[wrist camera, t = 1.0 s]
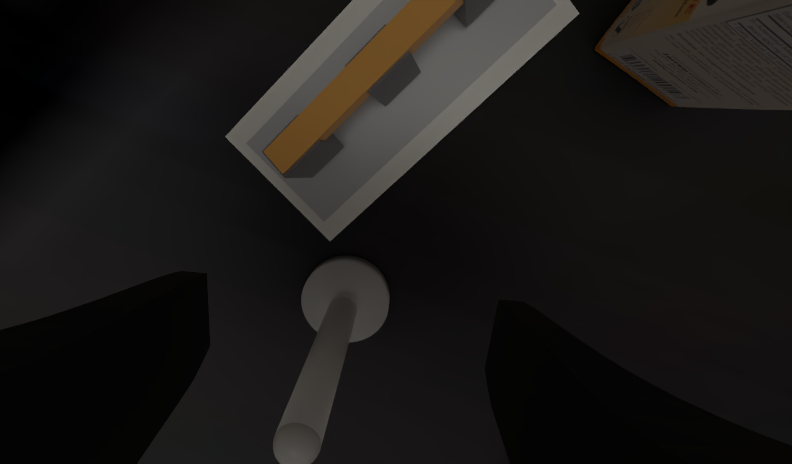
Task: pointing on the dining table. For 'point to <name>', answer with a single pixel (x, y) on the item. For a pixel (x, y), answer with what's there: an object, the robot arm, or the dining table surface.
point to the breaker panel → (407, 113)
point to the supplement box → (707, 51)
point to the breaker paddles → (363, 84)
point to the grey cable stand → (329, 348)
